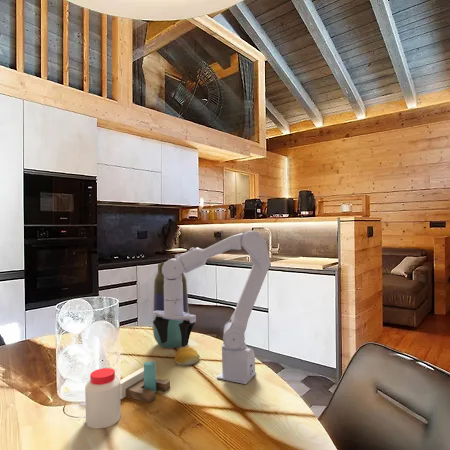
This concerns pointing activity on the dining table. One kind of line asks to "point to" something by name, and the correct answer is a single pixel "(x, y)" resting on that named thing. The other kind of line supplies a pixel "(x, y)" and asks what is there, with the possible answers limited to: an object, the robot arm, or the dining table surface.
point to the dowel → (150, 376)
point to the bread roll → (186, 356)
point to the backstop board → (130, 381)
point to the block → (143, 394)
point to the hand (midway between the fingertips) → (174, 344)
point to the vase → (158, 305)
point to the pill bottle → (102, 399)
